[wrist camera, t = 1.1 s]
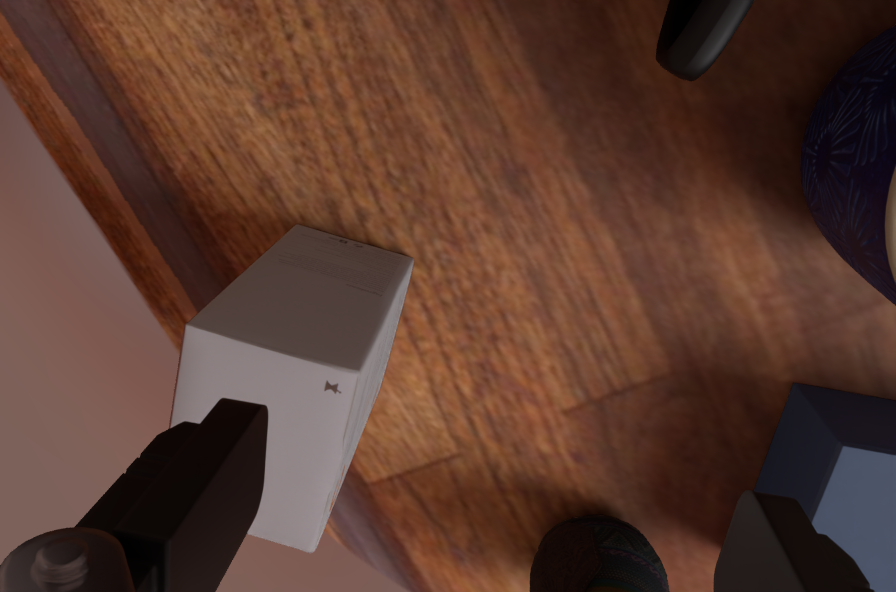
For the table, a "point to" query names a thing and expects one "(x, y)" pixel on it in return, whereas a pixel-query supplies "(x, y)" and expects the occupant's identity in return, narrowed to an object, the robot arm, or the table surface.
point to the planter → (857, 162)
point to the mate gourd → (596, 558)
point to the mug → (697, 34)
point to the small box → (298, 366)
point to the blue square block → (840, 473)
